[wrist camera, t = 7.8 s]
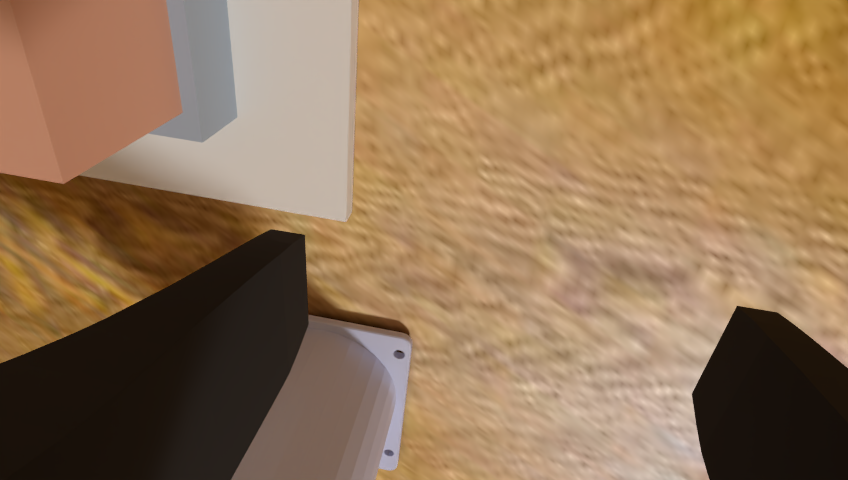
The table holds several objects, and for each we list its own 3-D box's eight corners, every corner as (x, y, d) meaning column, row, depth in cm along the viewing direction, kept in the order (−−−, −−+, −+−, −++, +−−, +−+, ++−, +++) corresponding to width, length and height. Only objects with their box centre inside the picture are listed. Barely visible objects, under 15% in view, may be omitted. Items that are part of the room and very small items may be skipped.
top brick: (182, 112, 16) (64, 184, 12) (32, 88, 17) (-133, 149, 13) (154, -77, 14) (-11, -69, 10) (-24, -100, 14) (-258, -102, 10)
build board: (352, 212, 21) (346, 222, 20) (68, 162, 22) (53, 170, 21) (362, -127, 15) (354, -128, 14) (-26, -172, 16) (-51, -176, 15)
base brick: (237, 117, 19) (202, 142, 17) (78, 91, 19) (26, 113, 17) (219, -82, 16) (173, -79, 14) (29, -106, 16) (-42, -107, 14)
